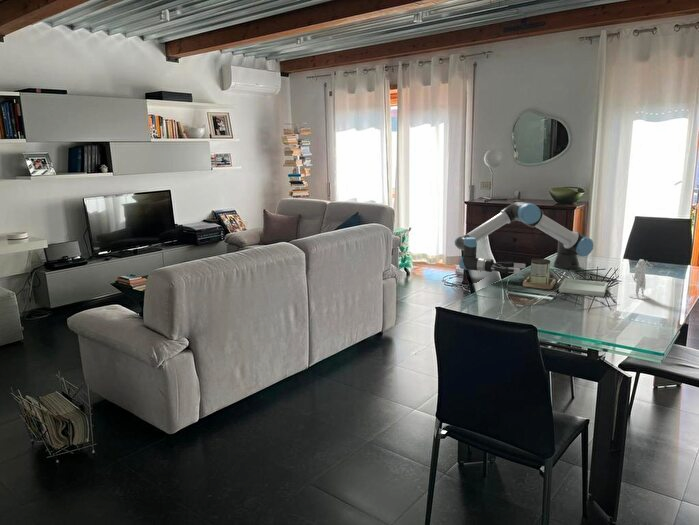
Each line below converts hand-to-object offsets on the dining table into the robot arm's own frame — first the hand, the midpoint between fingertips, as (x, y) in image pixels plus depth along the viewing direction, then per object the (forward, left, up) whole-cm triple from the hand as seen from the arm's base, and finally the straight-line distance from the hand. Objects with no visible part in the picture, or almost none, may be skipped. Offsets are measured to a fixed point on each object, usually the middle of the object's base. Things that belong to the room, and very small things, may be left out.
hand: (522, 268), depth 301 cm
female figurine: (+6, +58, -9) cm, 59 cm away
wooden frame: (0, +10, -8) cm, 13 cm away
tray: (0, +32, -8) cm, 34 cm away
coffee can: (0, +10, -9) cm, 13 cm away
